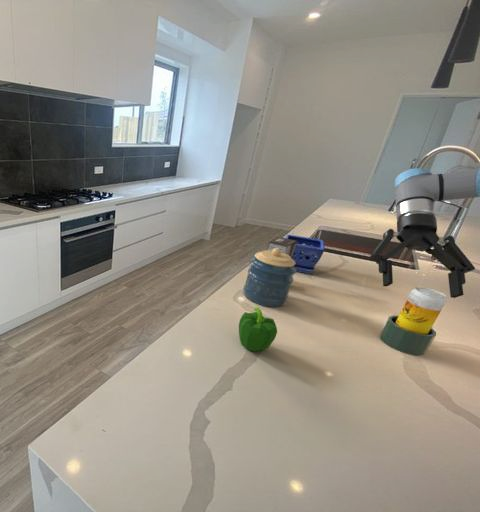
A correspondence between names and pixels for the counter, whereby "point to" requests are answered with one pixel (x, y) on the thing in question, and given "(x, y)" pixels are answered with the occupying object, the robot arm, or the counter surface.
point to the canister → (269, 278)
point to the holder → (405, 338)
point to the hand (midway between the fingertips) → (421, 290)
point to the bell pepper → (256, 331)
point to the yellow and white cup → (421, 310)
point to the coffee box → (283, 245)
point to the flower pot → (306, 253)
